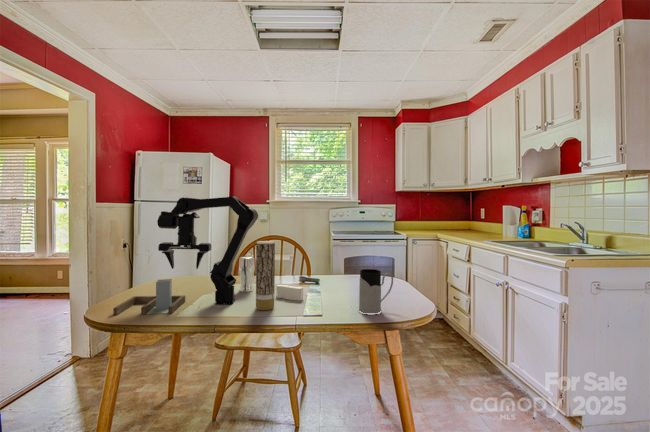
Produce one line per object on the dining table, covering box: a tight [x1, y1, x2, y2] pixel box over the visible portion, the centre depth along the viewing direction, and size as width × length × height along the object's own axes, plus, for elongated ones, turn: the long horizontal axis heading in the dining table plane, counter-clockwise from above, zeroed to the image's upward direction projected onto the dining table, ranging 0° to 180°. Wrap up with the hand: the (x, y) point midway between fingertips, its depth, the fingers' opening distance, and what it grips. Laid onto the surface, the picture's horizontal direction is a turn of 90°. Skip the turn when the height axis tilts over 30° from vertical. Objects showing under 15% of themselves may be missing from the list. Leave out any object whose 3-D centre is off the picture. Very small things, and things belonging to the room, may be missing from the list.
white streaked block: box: [238, 255, 256, 293], centre depth 149 cm, size 7×7×15 cm
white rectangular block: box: [276, 284, 304, 301], centre depth 138 cm, size 15×11×6 cm
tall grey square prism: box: [155, 278, 173, 310], centre depth 121 cm, size 4×4×10 cm
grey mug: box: [358, 268, 394, 313], centre depth 121 cm, size 9×14×15 cm, turn 113°
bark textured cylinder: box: [255, 240, 276, 312], centre depth 122 cm, size 7×7×25 cm
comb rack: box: [113, 294, 186, 316], centre depth 121 cm, size 19×15×2 cm
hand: (185, 268), depth 130 cm, fingers open, 9 cm apart
